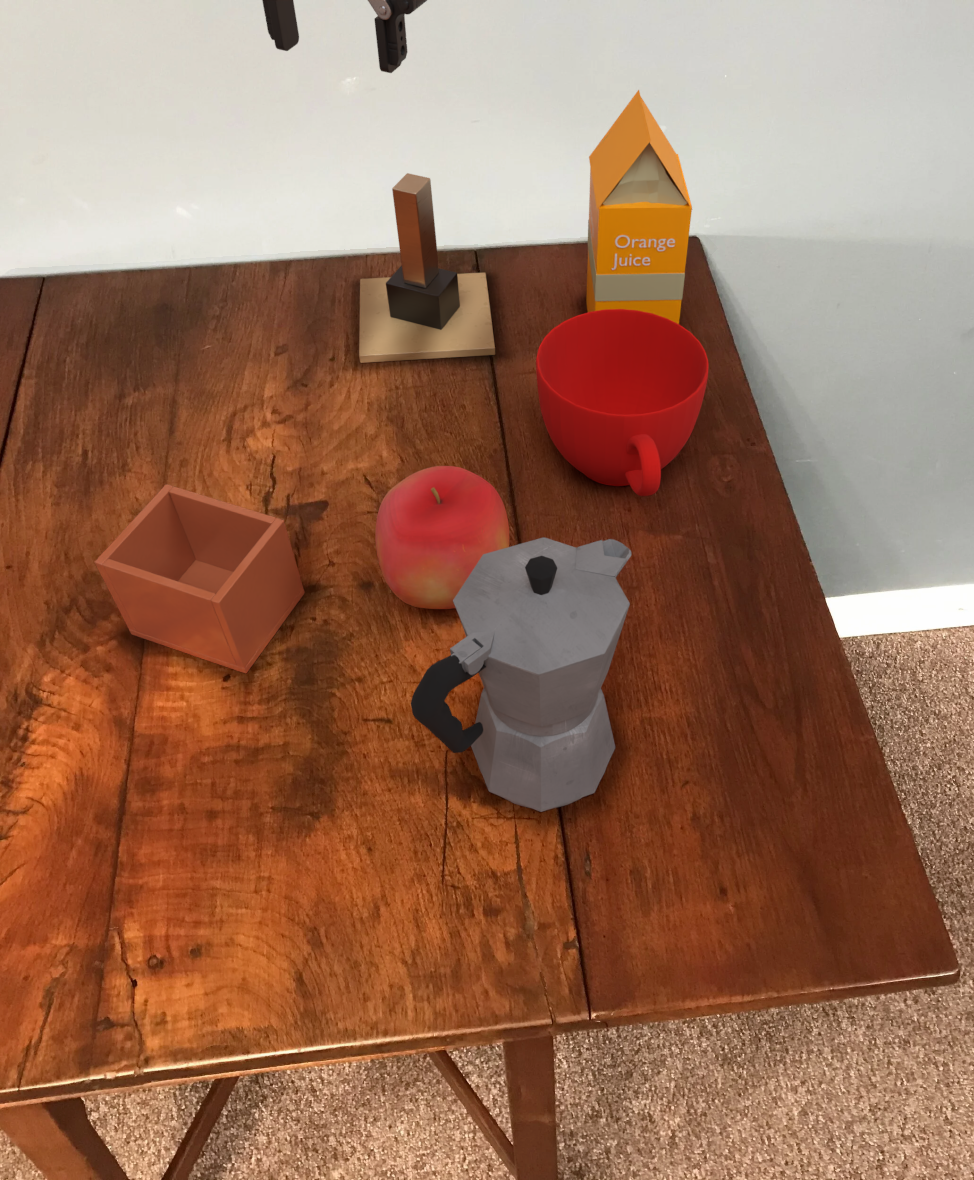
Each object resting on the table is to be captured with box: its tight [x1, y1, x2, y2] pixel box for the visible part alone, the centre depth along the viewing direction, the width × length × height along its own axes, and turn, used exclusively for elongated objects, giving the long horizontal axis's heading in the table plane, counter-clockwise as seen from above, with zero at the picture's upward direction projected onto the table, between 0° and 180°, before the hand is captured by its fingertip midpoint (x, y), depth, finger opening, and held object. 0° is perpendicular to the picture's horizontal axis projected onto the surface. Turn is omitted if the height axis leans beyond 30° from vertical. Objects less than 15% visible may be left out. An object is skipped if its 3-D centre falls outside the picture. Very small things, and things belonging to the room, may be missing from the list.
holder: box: [94, 483, 306, 674], centre depth 70 cm, size 9×8×8 cm
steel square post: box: [386, 172, 460, 330], centre depth 90 cm, size 5×4×13 cm
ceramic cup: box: [535, 309, 709, 497], centre depth 79 cm, size 13×17×10 cm
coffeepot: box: [410, 536, 632, 813], centre depth 59 cm, size 15×9×18 cm, turn 135°
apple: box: [374, 465, 510, 610], centre depth 71 cm, size 10×10×10 cm
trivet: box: [358, 272, 496, 364], centre depth 95 cm, size 12×12×1 cm
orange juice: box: [585, 89, 693, 325], centre depth 88 cm, size 8×9×20 cm
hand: (339, 57), depth 75 cm, fingers open, 8 cm apart
